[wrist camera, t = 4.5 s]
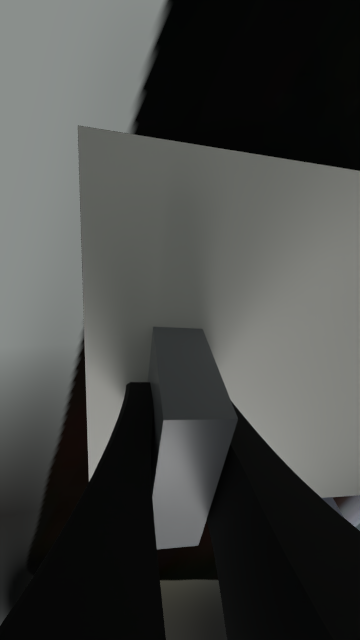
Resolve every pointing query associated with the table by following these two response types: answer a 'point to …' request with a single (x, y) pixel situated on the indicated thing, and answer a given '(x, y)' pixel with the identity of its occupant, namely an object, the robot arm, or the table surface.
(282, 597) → the robot arm
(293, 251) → the carton lid
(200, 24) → the table surface
